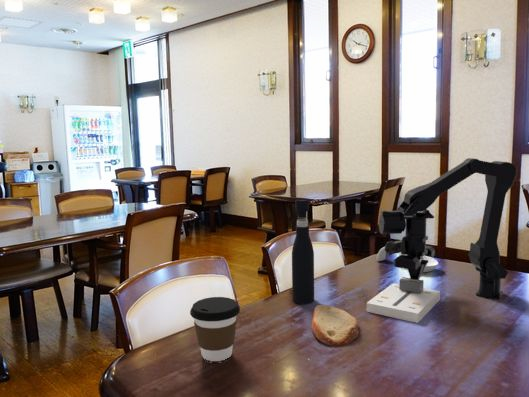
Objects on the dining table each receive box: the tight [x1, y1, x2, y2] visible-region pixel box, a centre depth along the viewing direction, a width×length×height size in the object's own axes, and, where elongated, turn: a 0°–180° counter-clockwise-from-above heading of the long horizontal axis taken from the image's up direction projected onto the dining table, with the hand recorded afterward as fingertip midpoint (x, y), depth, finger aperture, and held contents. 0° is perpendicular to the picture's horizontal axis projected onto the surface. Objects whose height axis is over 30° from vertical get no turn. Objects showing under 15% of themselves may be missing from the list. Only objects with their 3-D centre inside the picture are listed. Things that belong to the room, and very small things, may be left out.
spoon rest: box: [375, 246, 439, 273], centre depth 166 cm, size 24×12×7 cm, turn 39°
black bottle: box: [291, 198, 315, 305], centre depth 133 cm, size 6×6×30 cm
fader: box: [399, 276, 425, 293], centre depth 133 cm, size 3×6×3 cm, turn 54°
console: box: [365, 282, 441, 324], centre depth 129 cm, size 20×14×3 cm
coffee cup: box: [189, 296, 241, 361], centre depth 101 cm, size 11×11×12 cm
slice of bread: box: [311, 304, 360, 348], centre depth 115 cm, size 18×18×4 cm
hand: (414, 284), depth 135 cm, fingers closed
